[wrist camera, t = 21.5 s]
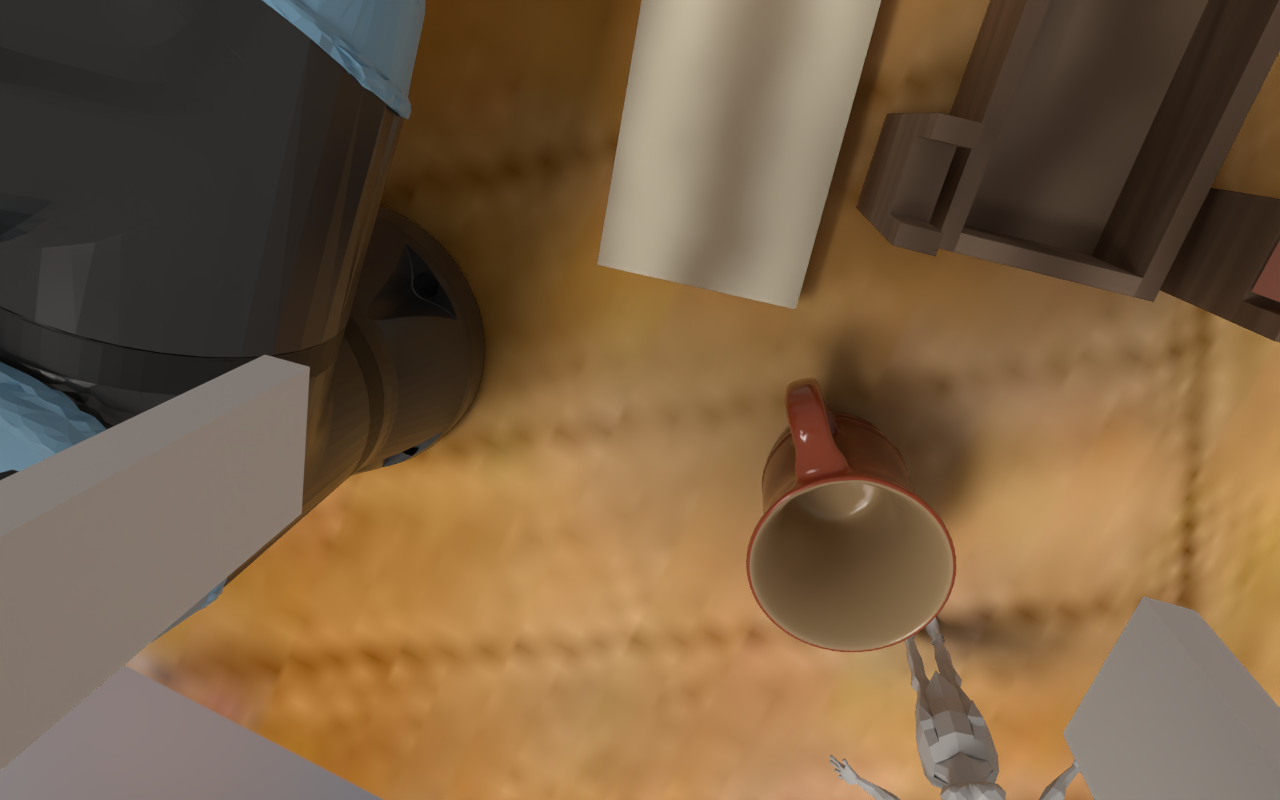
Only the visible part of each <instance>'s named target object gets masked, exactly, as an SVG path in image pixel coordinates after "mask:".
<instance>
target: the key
mask: <svg viewBox="0 0 1280 800" xmlns="http://www.w3.org/2000/svg"><path fill="white" fill-rule="evenodd" d="M1251 292H1253V293H1256V294H1259V295H1262V296H1264V297H1267V298H1270V299H1273V300H1275V301H1278V302H1280V240H1279V242H1278V244H1277V246H1276V248H1275V250H1274V251H1273V253H1272V255H1271V257H1270V259H1269V260H1268V262H1267V264H1266V266H1265V268H1264V270H1263V271H1262V273H1261V275H1260V277H1259V279H1258V280H1257V282H1256V284H1255V286H1254V288H1253V290H1252V291H1251Z"/></svg>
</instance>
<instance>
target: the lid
mask: <svg viewBox="0 0 1280 800" xmlns="http://www.w3.org/2000/svg"><path fill="white" fill-rule="evenodd" d="M880 3H881V0H642V1H641V7H640V13H639V19H638V25H637V31H636V37H635V43H634V49H633V54H632V60H631V66H630V72H629V78H628V84H627V90H626V96H625V102H624V108H623V114H622V120H621V126H620V132H619V138H618V143H617V149H616V155H615V161H614V167H613V173H612V179H611V185H610V191H609V197H608V203H607V209H606V215H605V221H604V226H603V232H602V238H601V244H600V250H599V256H598V262H597V265H601V266H605V267H609V268H614V269H618V270H623V271H627V272H632V273H636V274H641V275H645V276H649V277H654V278H658V279H663V280H667V281H672V282H676V283H680V284H685V285H689V286H694V287H698V288H703V289H707V290H712V291H716V292H720V293H725V294H729V295H734V296H738V297H743V298H747V299H752V300H756V301H760V302H765V303H769V304H774V305H778V306H783V307H787V308H791V309H796V307H797V303H798V299H799V296H800V292H801V289H802V285H803V281H804V278H805V274H806V271H807V267H808V263H809V260H810V256H811V252H812V249H813V245H814V242H815V238H816V234H817V231H818V227H819V224H820V220H821V216H822V213H823V209H824V206H825V202H826V198H827V195H828V191H829V188H830V184H831V180H832V177H833V173H834V169H835V166H836V162H837V159H838V155H839V151H840V148H841V144H842V141H843V137H844V133H845V130H846V126H847V123H848V119H849V115H850V112H851V108H852V104H853V101H854V97H855V94H856V90H857V86H858V83H859V79H860V76H861V72H862V68H863V65H864V61H865V58H866V54H867V50H868V47H869V43H870V40H871V36H872V32H873V29H874V25H875V21H876V18H877V14H878V11H879V7H880Z"/></svg>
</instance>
